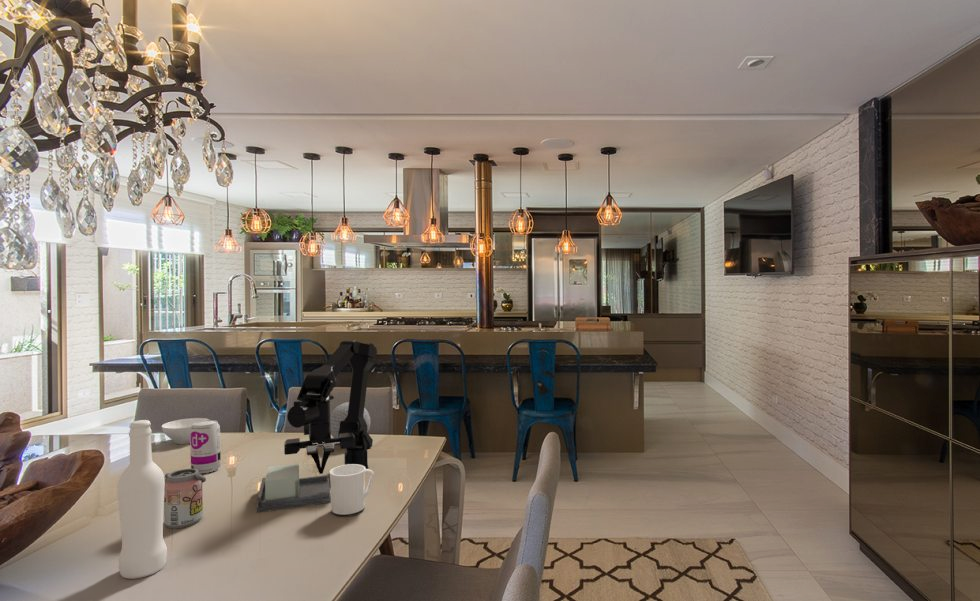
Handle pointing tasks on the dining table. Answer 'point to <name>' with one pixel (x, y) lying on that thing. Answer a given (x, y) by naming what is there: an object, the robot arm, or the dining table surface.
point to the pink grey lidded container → (183, 498)
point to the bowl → (180, 429)
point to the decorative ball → (343, 418)
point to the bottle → (141, 508)
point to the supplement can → (205, 446)
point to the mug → (349, 489)
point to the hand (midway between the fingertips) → (321, 473)
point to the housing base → (309, 494)
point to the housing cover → (282, 481)
